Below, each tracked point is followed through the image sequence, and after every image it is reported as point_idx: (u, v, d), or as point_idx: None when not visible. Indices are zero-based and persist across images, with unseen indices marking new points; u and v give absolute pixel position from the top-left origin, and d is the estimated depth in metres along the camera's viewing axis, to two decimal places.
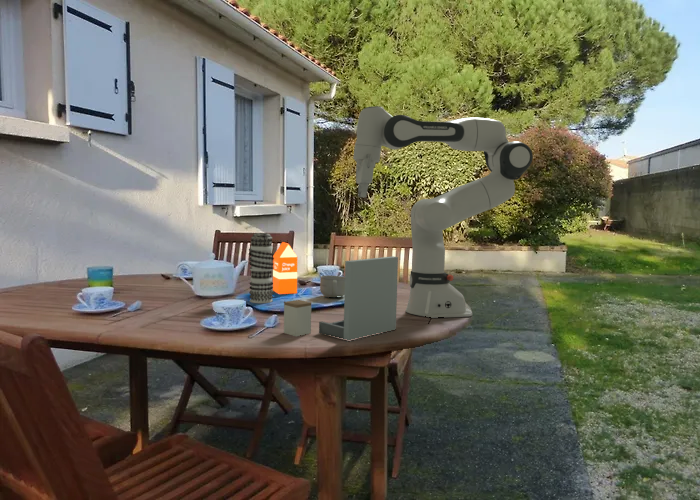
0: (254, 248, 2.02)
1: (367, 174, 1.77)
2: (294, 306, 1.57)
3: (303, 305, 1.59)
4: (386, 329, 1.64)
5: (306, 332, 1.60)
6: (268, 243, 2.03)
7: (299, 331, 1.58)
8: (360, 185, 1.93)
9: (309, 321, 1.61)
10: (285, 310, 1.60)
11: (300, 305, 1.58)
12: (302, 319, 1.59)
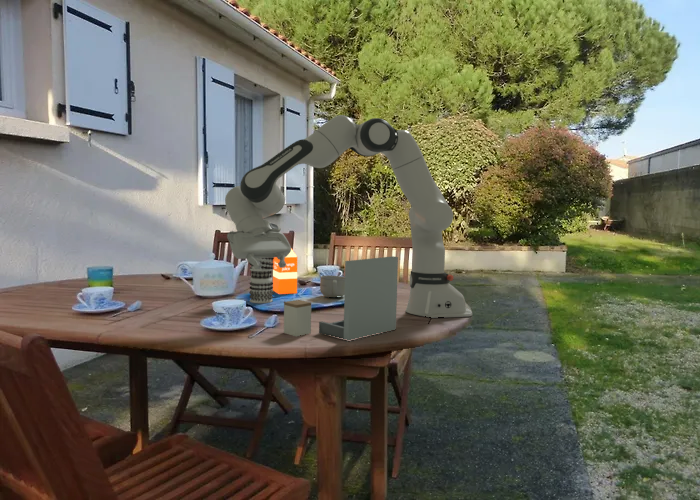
0: None
1: (234, 249, 1.65)
2: (294, 306, 1.57)
3: (303, 305, 1.59)
4: (386, 329, 1.64)
5: (306, 332, 1.60)
6: None
7: (299, 331, 1.58)
8: (278, 257, 1.75)
9: (309, 321, 1.61)
10: (285, 310, 1.60)
11: (300, 305, 1.58)
12: (302, 319, 1.59)
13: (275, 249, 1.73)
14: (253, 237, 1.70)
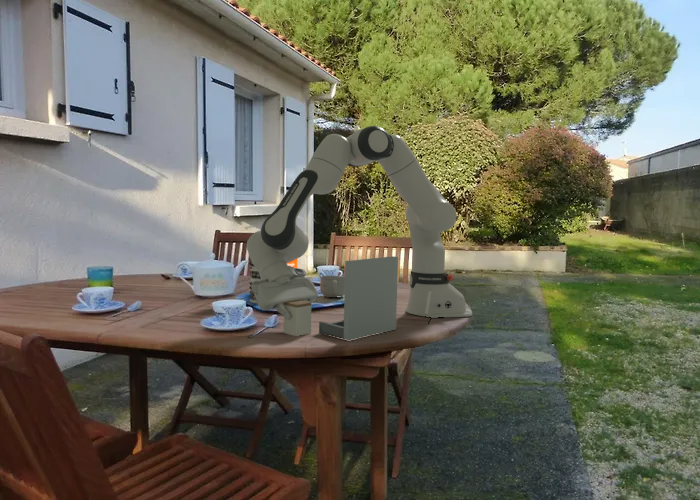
0: None
1: (260, 300, 1.57)
2: (294, 306, 1.57)
3: (303, 305, 1.59)
4: (386, 329, 1.64)
5: (306, 332, 1.60)
6: None
7: (299, 331, 1.58)
8: None
9: (309, 321, 1.61)
10: None
11: (300, 305, 1.58)
12: (302, 319, 1.59)
13: (302, 296, 1.64)
14: (278, 285, 1.62)
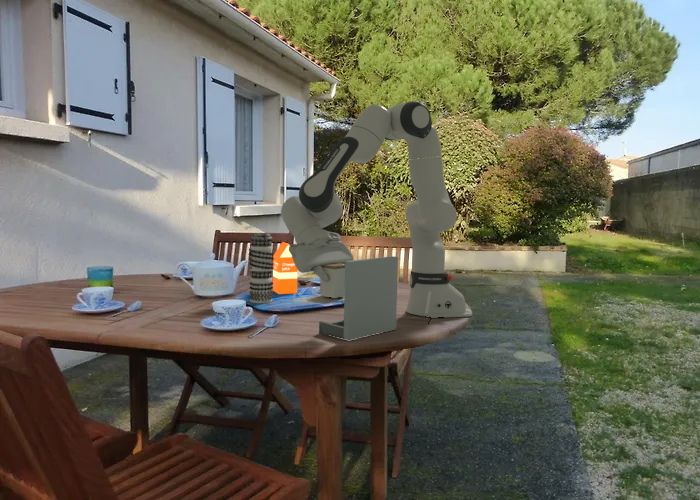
0: (254, 248, 2.02)
1: (298, 262, 1.57)
2: (332, 268, 1.58)
3: (341, 267, 1.59)
4: (386, 329, 1.64)
5: (343, 294, 1.61)
6: (268, 243, 2.03)
7: (337, 293, 1.59)
8: None
9: None
10: None
11: (338, 267, 1.58)
12: (340, 281, 1.59)
13: (338, 259, 1.64)
14: (315, 249, 1.62)
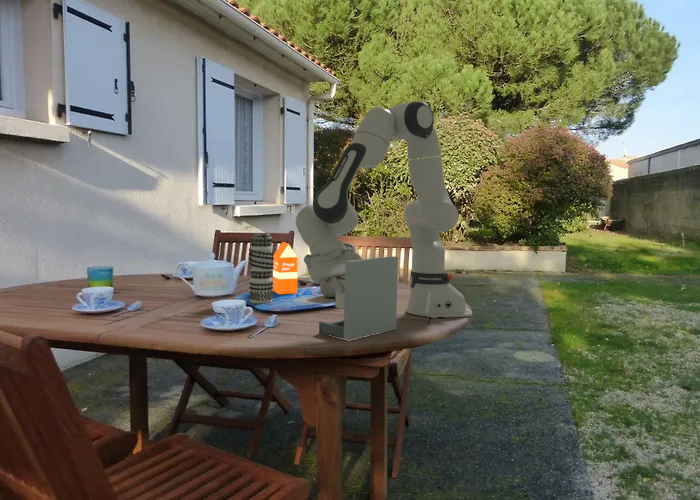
0: (254, 248, 2.02)
1: (313, 273, 1.55)
2: None
3: None
4: (386, 329, 1.64)
5: None
6: (268, 243, 2.03)
7: None
8: None
9: None
10: None
11: None
12: None
13: None
14: (330, 260, 1.61)
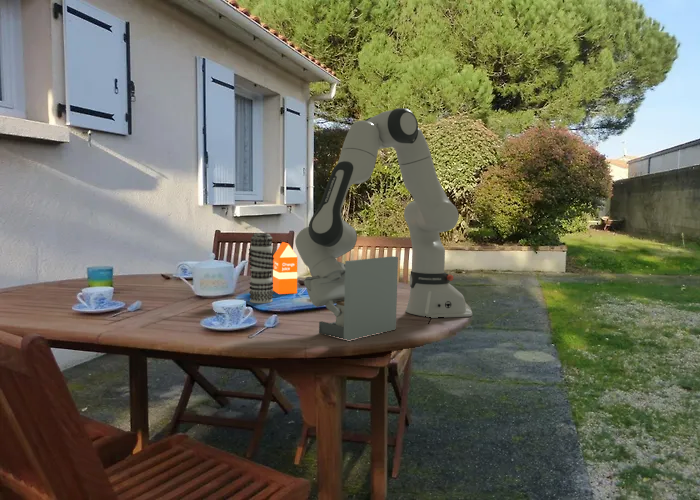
0: (254, 248, 2.02)
1: (313, 296, 1.56)
2: None
3: None
4: (386, 329, 1.64)
5: None
6: (268, 243, 2.03)
7: None
8: None
9: None
10: None
11: None
12: None
13: None
14: (330, 282, 1.61)
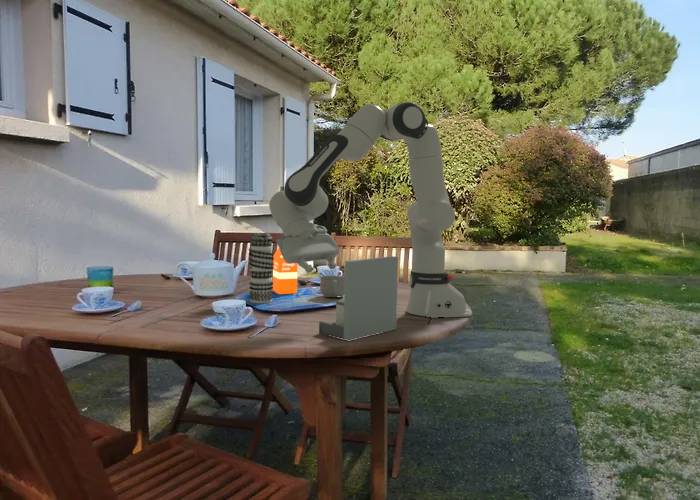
0: (254, 248, 2.02)
1: (285, 254, 1.64)
2: None
3: None
4: (386, 329, 1.64)
5: None
6: (268, 243, 2.03)
7: None
8: (327, 259, 1.73)
9: None
10: (337, 310, 1.60)
11: None
12: None
13: (324, 251, 1.71)
14: (302, 241, 1.69)
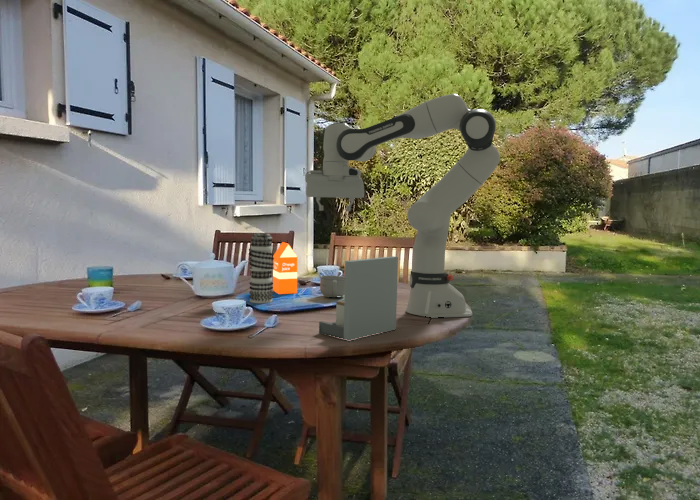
0: (254, 248, 2.02)
1: None
2: None
3: None
4: (386, 329, 1.64)
5: None
6: (268, 243, 2.03)
7: None
8: None
9: None
10: (337, 310, 1.60)
11: None
12: None
13: (345, 195, 1.94)
14: (327, 181, 1.93)
